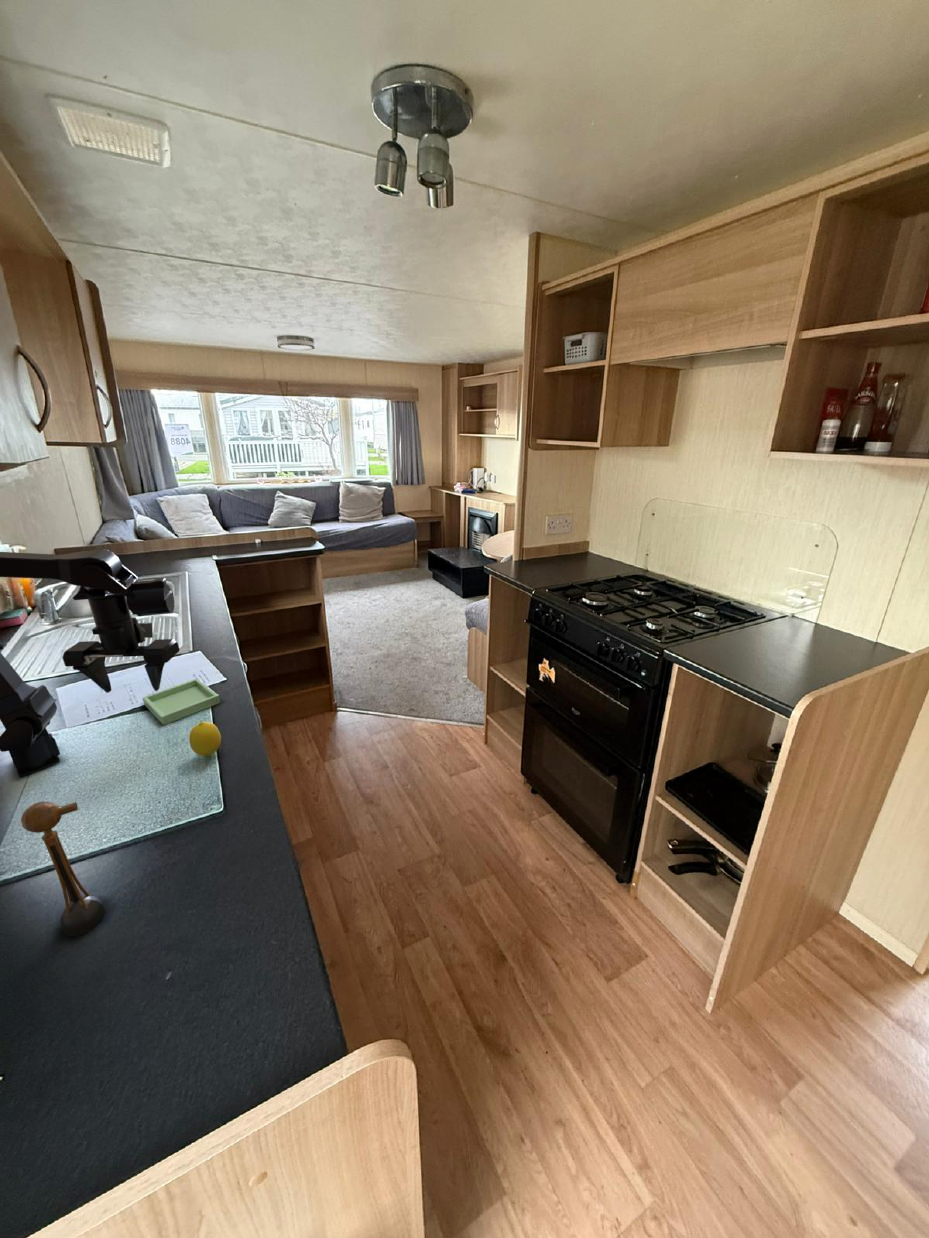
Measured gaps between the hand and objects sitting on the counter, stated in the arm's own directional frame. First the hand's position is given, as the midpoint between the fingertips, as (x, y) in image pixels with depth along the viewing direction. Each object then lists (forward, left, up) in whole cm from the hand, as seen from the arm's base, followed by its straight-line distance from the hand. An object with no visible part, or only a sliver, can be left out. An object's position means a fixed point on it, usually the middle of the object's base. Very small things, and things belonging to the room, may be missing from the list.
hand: (133, 690), depth 100 cm
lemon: (+7, -13, -13) cm, 20 cm away
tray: (+11, +12, -13) cm, 21 cm away
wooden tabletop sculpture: (-19, -37, -13) cm, 44 cm away
